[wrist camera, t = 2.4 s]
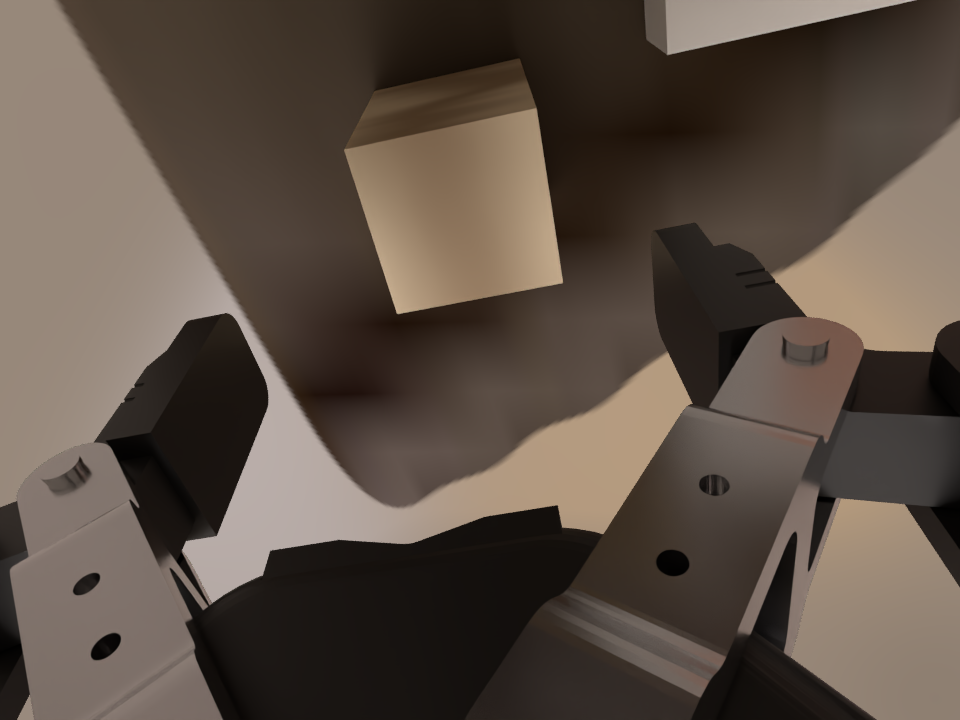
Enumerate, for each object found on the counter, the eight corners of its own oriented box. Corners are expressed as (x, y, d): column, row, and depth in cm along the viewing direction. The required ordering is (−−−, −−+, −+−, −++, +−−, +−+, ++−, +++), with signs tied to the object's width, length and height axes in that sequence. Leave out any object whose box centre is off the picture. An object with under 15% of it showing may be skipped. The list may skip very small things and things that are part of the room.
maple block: (519, 58, 20) (536, 107, 15) (541, 199, 22) (562, 282, 17) (375, 90, 20) (344, 149, 15) (413, 225, 23) (397, 314, 18)
